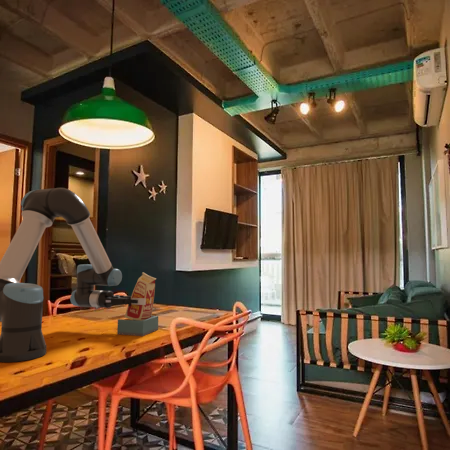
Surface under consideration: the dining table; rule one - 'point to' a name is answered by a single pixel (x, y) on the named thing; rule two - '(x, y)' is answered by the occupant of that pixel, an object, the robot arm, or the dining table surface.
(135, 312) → the milk carton
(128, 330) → the box
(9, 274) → the robot arm
